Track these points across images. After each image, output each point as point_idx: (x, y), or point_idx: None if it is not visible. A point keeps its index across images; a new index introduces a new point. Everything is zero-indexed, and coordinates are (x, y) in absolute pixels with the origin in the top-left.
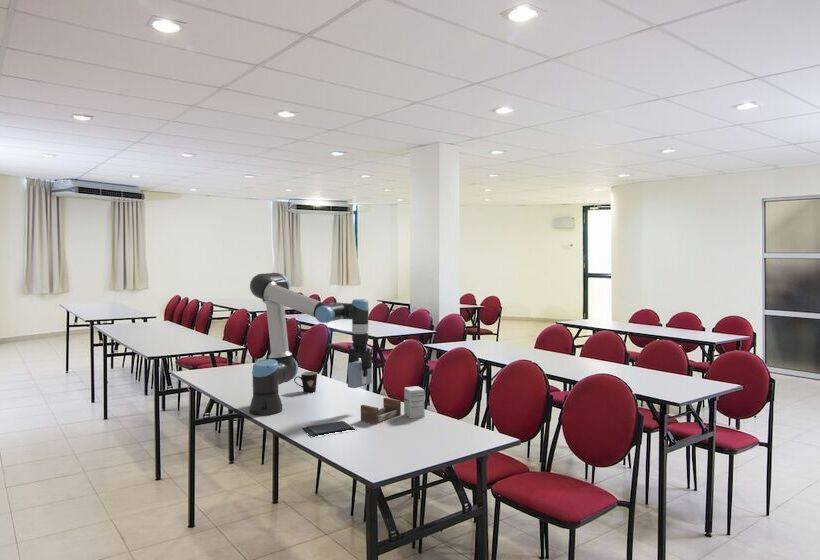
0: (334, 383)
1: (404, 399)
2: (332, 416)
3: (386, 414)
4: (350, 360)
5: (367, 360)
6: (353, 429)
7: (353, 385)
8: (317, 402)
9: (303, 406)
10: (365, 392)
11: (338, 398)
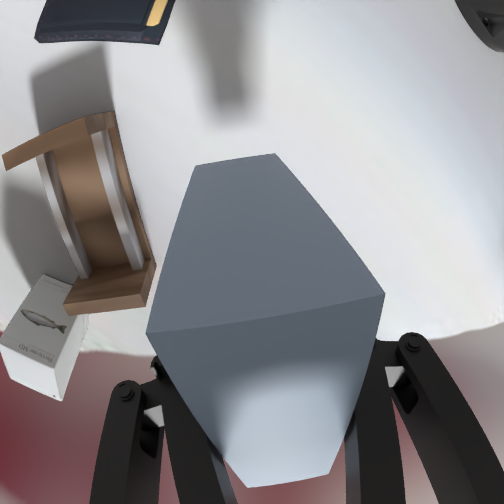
0: (490, 317)
1: (66, 328)
2: (271, 52)
3: (54, 214)
4: (437, 391)
5: (97, 479)
6: (38, 29)
7: (202, 169)
8: (460, 167)
9: (463, 98)
10: (397, 340)
11: (434, 250)
